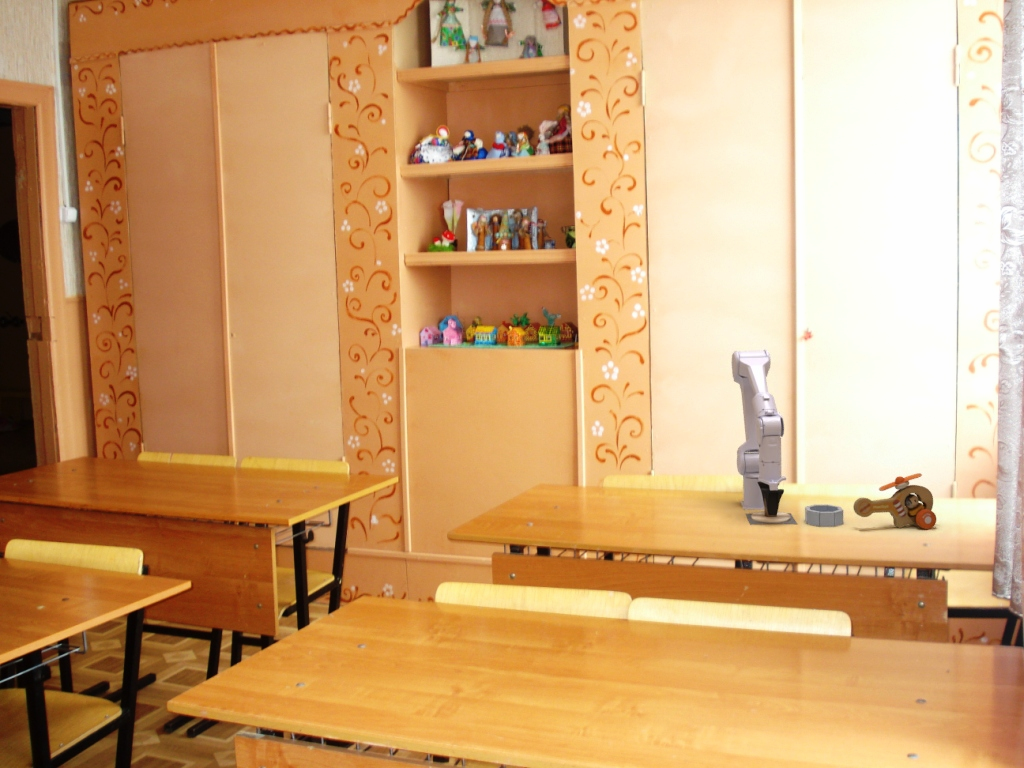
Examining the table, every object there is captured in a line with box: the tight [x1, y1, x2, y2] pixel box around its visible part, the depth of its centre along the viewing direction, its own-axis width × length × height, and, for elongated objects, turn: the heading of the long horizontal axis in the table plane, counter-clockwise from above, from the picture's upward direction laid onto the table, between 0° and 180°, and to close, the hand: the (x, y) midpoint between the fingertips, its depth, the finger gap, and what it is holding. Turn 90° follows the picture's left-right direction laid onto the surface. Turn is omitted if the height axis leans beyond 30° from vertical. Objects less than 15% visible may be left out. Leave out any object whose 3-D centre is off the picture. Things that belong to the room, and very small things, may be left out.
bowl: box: [804, 504, 844, 528], centre depth 257 cm, size 9×9×4 cm
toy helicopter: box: [853, 473, 937, 530], centre depth 250 cm, size 8×21×14 cm, turn 98°
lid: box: [751, 498, 790, 523], centre depth 262 cm, size 10×10×5 cm
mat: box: [745, 512, 798, 526], centre depth 263 cm, size 12×12×1 cm
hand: (770, 511), depth 262 cm, fingers open, 7 cm apart
